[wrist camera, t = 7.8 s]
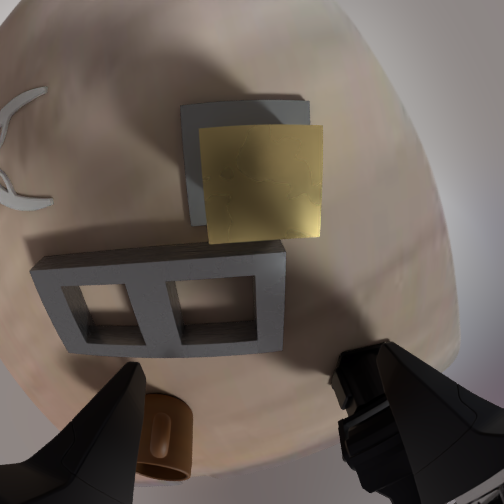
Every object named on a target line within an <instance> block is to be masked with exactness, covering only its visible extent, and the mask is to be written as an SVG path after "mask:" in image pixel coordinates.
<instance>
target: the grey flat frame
mask: <svg viewBox="0 0 504 504" xmlns="http://www.w3.org/2000/svg"><path fill="white" fill-rule="evenodd" d="M285 273H286V251H285V249H284V247H283V245H282V243H281V240H280V239H277V240H262V241H249V242H235V243H222V244H209V242H202V243H189V244H177V245H165V246H153V247H141V248H130V249H119V250H108V251H97V252H87V253H76V254H66V255H56V256H46V257H43V258H42V259H41V260H40V261H39V262H38V263H37V264H36V265H35V266H34V267H33V268H32V269H31V270H30V274H31V277H32V279H33V282H34V284H35V287H36V289H37V291H38V294H39V296H40V298H41V300H42V303H43V305H44V307H45V309H46V311H47V313H48V315H49V317H50V319H51V321H52V323H53V325H54V327H55V329H56V331H57V333H58V335H59V337H60V338H61V340H62V342H63V344H64V345H65V347H66V349H67V351H68V352H69V353H76V354H86V355H99V356H114V357H138V358H190V357H215V356H231V355H244V354H256V353H266V352H275V351H282V349H283V328H284V304H285ZM251 275H253V297H254V320H252V321H240V322H227V323H212V324H193V325H185V324H184V320H183V316H182V311H181V307H180V303H179V298H178V294H177V289H176V285H175V281H181V280H197V279H211V278H225V277H239V276H251ZM107 284H125V286H126V289H127V292H128V295H129V298H130V301H131V304H132V307H133V310H134V313H135V316H136V319H137V322H138V324H139V326H95V324H94V321H93V319H92V317H91V315H90V312H89V310H88V307H87V305H86V303H85V300H84V298H83V295H82V292H81V290H80V287H79V286H82V285H107Z"/></svg>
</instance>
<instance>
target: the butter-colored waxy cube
mask: <svg viewBox="0 0 504 504" xmlns="http://www.w3.org/2000/svg"><path fill="white" fill-rule="evenodd" d="M199 140H200V154H201V167H202V179H203V190H204V201H205V211H206V221H207V231H208V240H209V244H222V243H235V242H249V241H262V240H277V239H291V238H306V237H320V221H321V200H322V168H323V126H321V125H288V124H273V125H239V126H223V127H210V128H200V129H199Z"/></svg>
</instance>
